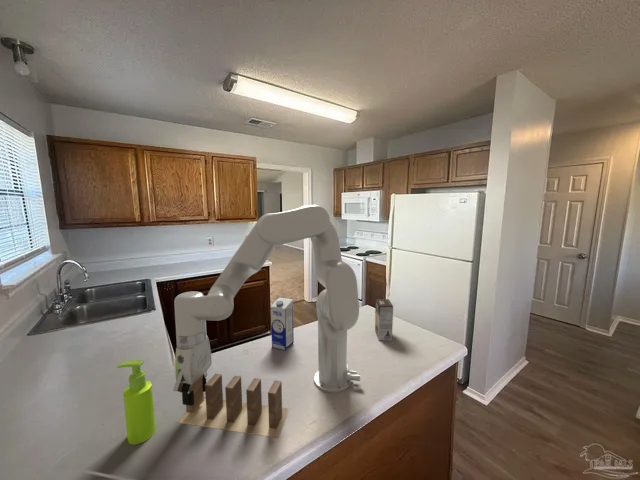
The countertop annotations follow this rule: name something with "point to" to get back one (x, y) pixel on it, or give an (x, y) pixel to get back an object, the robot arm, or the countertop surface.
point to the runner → (240, 423)
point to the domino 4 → (254, 401)
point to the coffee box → (383, 319)
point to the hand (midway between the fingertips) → (195, 396)
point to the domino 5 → (275, 404)
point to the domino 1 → (196, 395)
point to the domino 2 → (214, 396)
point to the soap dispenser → (138, 404)
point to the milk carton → (282, 323)
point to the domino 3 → (233, 398)
